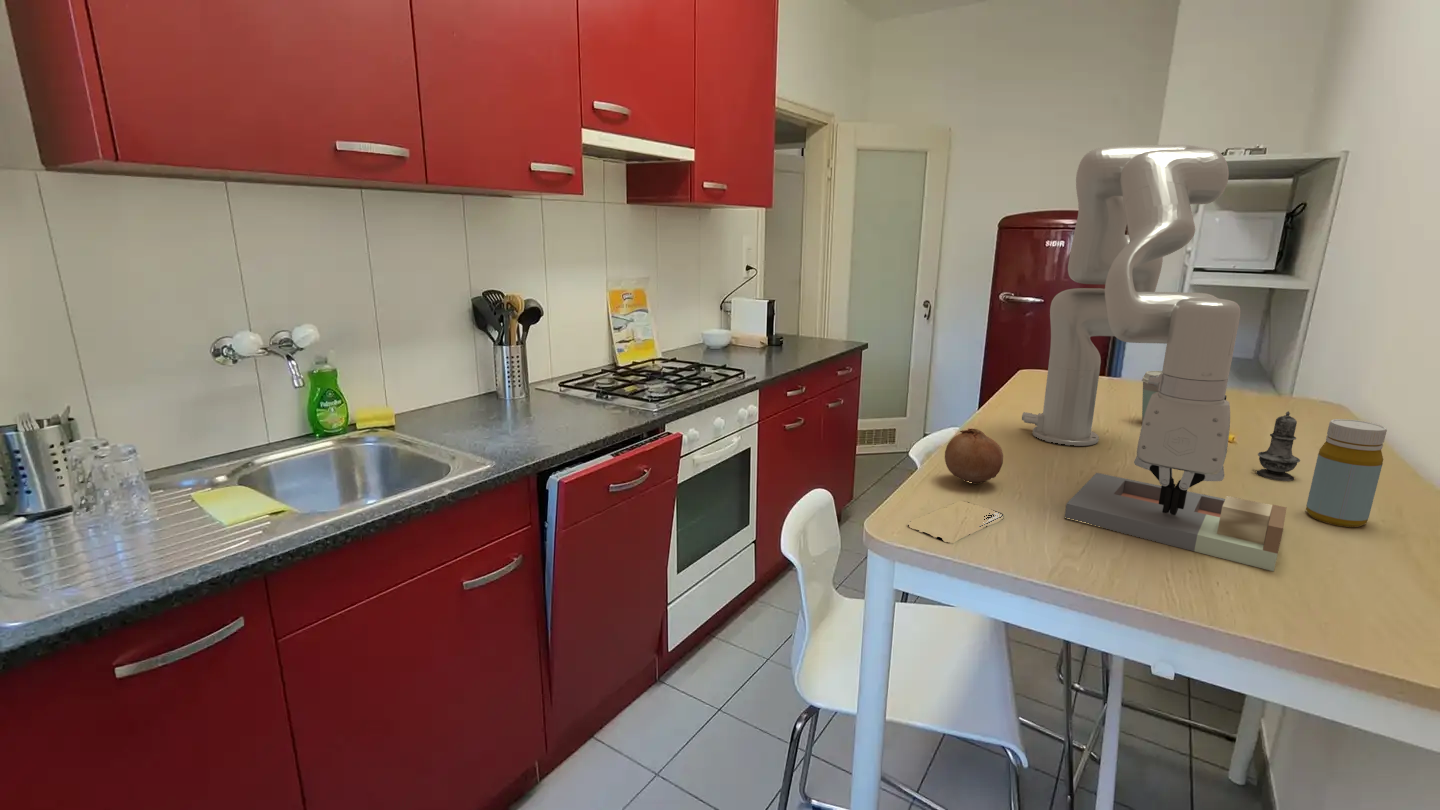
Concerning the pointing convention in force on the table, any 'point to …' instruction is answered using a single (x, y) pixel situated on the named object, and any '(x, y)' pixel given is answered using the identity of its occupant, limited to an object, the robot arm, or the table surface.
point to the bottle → (1347, 473)
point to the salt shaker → (1280, 451)
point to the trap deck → (1171, 520)
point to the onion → (973, 456)
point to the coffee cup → (1148, 390)
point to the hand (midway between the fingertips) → (1170, 510)
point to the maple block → (1244, 519)
